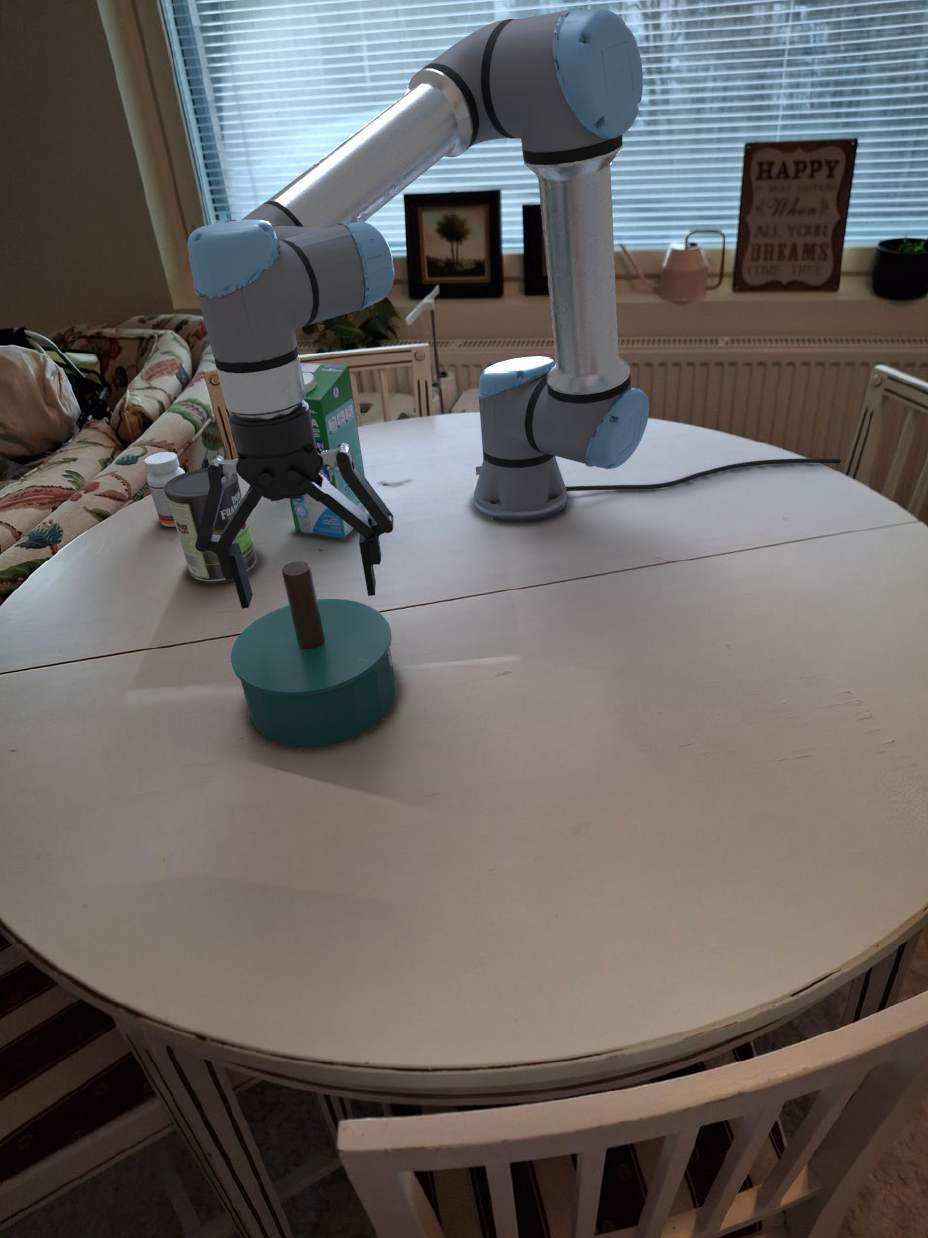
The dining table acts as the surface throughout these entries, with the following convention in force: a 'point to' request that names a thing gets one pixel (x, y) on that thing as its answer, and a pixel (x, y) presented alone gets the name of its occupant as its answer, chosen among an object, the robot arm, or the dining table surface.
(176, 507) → the coffee can
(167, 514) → the pill bottle
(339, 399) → the milk carton
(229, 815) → the dining table surface
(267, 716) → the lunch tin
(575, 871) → the dining table surface
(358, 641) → the lid
